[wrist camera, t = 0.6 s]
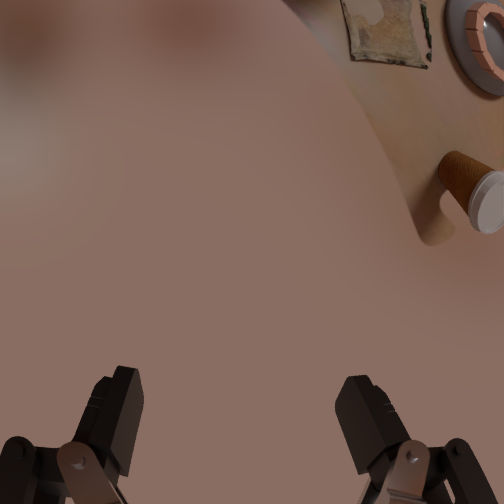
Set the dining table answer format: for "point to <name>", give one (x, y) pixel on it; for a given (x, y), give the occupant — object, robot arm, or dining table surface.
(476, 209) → the disposable coffee cup
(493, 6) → the round tray
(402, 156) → the dining table surface
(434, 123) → the dining table surface
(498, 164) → the dining table surface
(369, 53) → the parchment
